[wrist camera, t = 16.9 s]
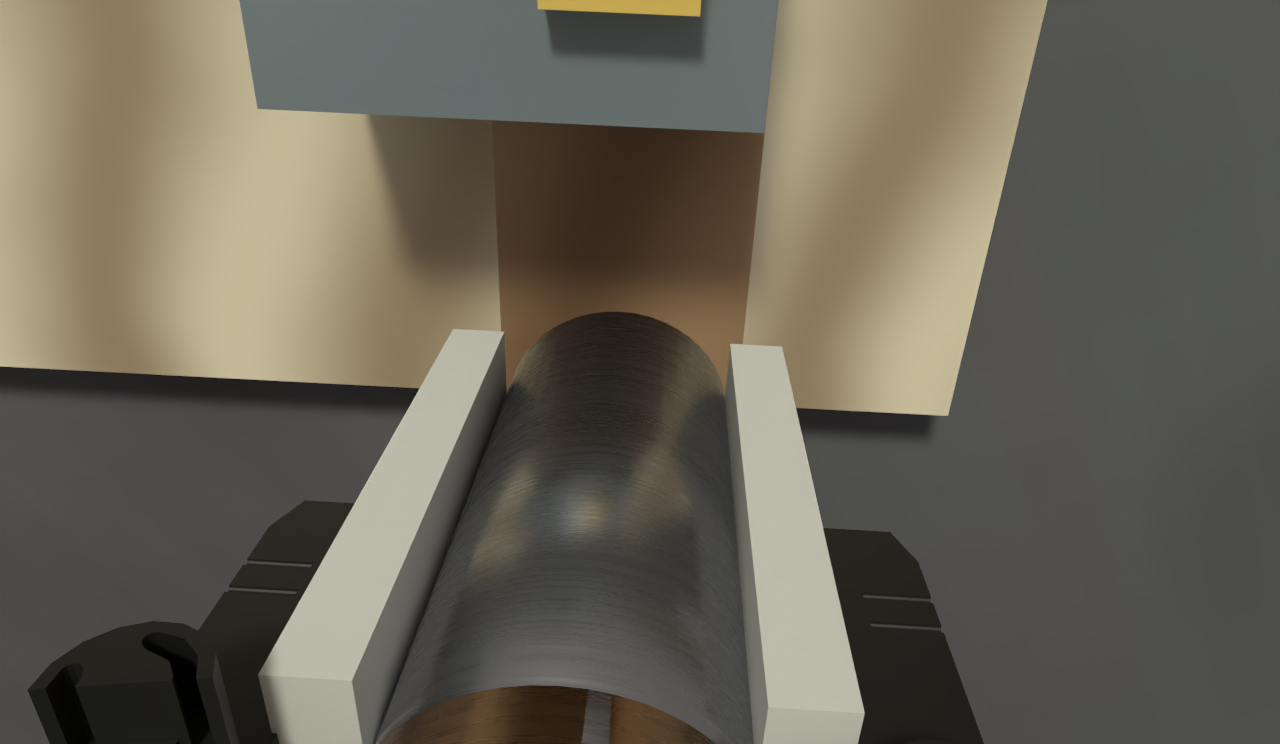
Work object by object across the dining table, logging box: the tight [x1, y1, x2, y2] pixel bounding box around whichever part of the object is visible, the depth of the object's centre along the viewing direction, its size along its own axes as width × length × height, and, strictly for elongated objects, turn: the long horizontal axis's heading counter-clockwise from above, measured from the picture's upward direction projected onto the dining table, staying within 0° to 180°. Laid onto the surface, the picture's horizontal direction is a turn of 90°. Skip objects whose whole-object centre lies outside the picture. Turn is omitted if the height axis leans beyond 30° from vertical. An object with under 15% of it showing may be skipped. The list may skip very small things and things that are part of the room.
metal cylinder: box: [375, 312, 754, 744], centre depth 9 cm, size 3×3×9 cm
